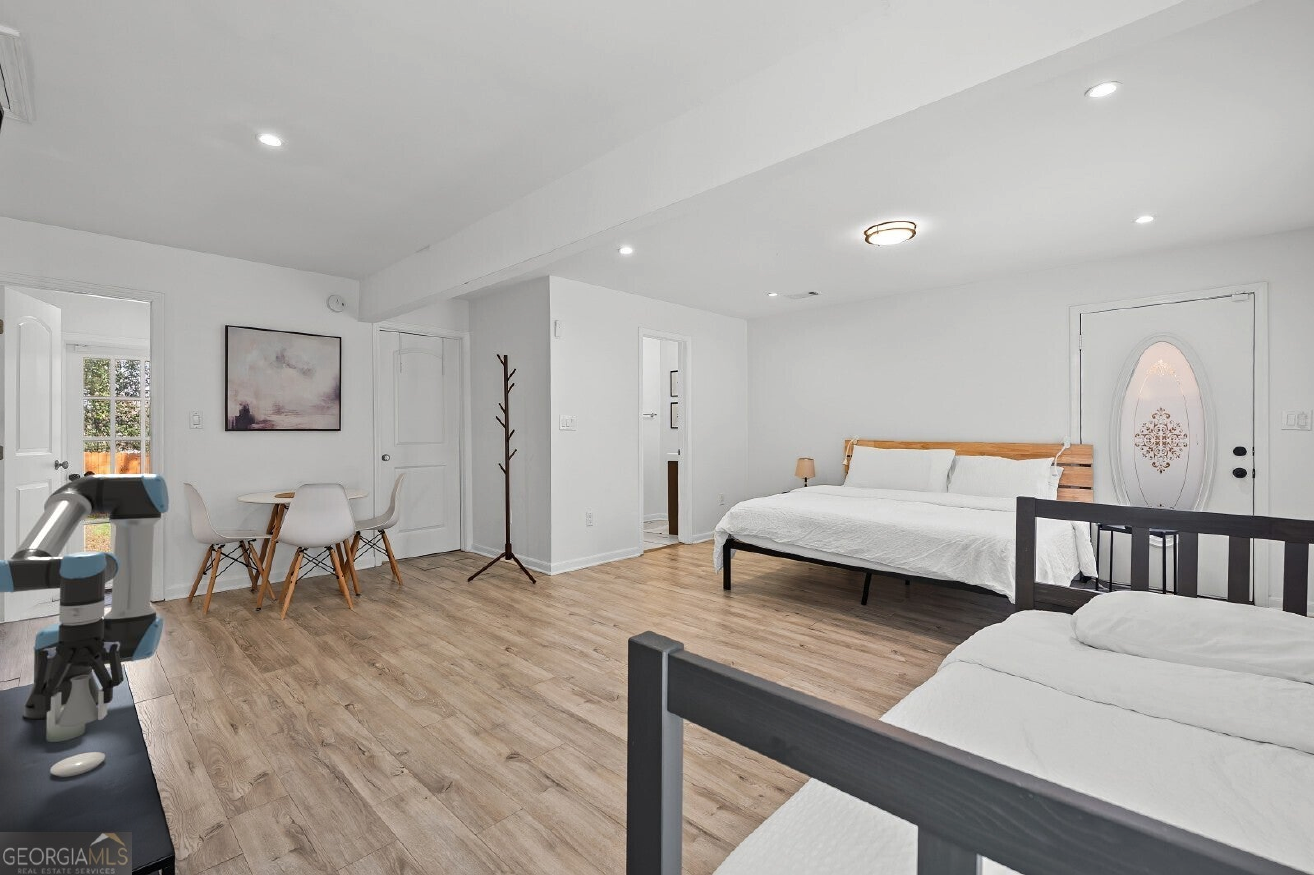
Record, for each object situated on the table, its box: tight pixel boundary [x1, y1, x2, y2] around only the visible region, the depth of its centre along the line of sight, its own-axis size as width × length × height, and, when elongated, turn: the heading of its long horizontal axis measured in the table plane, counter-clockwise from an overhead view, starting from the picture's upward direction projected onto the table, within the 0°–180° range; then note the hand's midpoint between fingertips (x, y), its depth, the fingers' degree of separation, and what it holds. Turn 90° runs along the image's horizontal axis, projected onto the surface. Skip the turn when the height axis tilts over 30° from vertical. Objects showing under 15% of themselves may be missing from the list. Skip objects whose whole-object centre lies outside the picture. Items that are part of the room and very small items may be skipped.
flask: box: [56, 675, 98, 727], centre depth 137 cm, size 7×7×10 cm
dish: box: [49, 751, 106, 778], centre depth 137 cm, size 9×9×1 cm
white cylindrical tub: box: [46, 704, 86, 743], centre depth 152 cm, size 7×7×7 cm
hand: (79, 720), depth 137 cm, fingers closed on flask, 7 cm apart
